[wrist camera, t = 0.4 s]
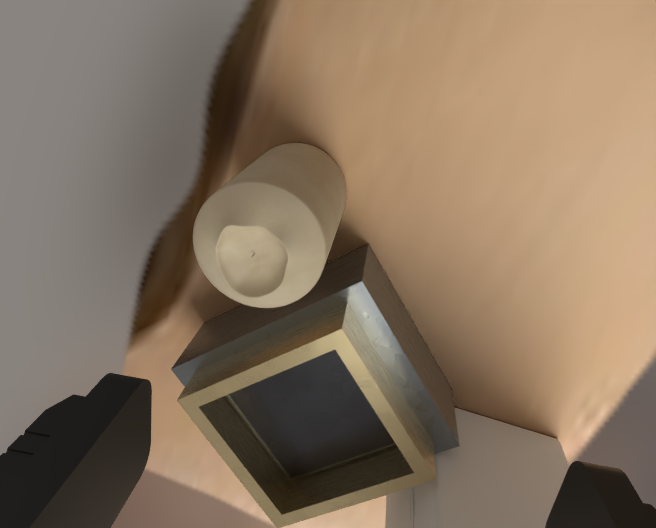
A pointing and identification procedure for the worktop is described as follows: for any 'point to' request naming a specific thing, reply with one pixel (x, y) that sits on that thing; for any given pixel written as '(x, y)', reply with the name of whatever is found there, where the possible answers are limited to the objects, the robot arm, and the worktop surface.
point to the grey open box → (321, 394)
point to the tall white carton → (485, 480)
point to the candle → (272, 226)
